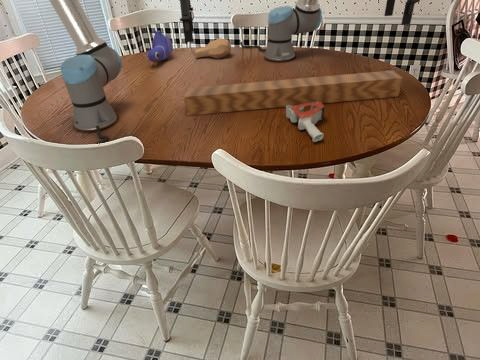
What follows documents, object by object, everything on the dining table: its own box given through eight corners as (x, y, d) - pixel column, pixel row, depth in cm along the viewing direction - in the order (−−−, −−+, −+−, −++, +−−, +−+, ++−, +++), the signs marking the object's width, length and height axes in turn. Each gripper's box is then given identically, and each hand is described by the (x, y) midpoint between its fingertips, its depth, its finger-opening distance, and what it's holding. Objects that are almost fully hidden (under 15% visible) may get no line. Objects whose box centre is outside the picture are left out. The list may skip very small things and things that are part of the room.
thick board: (187, 115, 134) (184, 96, 130) (187, 106, 141) (184, 88, 137) (398, 96, 138) (402, 77, 134) (389, 88, 145) (392, 70, 140)
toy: (161, 62, 200) (141, 68, 178) (157, 30, 193) (135, 32, 171) (177, 61, 198) (159, 67, 176) (173, 29, 191) (154, 30, 169)
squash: (233, 58, 187) (229, 42, 180) (196, 65, 189) (191, 49, 182) (232, 49, 194) (229, 33, 188) (196, 56, 196) (192, 40, 190)
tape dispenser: (318, 148, 112) (340, 119, 125) (320, 134, 109) (342, 106, 122) (269, 134, 120) (295, 107, 132) (269, 120, 116) (295, 94, 129)
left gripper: (192, -33, 99) (200, 45, 112) (193, -40, 119) (200, 27, 132) (165, -31, 99) (176, 47, 111) (171, -39, 119) (180, 28, 132)
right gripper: (444, -50, 103) (425, 27, 115) (404, -55, 123) (391, 11, 135) (419, -49, 102) (402, 29, 115) (382, -54, 122) (372, 13, 135)
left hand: (189, 36), depth 122 cm, fingers open, 13 cm apart
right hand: (396, 20), depth 125 cm, fingers open, 13 cm apart
